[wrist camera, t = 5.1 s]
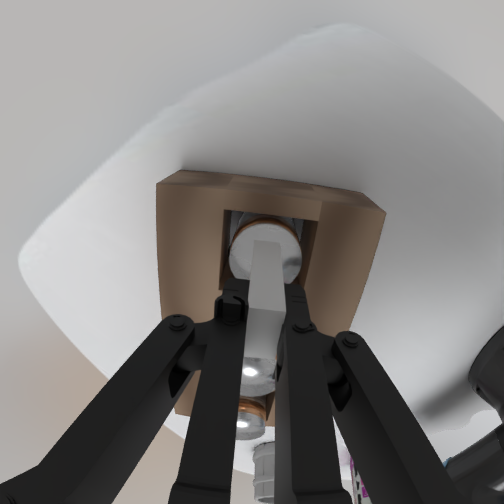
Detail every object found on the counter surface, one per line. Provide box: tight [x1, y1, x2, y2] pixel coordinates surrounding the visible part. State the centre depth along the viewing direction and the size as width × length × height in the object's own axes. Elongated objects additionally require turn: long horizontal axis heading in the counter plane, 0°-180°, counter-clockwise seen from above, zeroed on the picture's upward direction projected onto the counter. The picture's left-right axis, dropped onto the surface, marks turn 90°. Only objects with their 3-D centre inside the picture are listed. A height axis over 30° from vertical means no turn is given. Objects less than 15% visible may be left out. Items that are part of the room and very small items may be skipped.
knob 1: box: [229, 212, 302, 284], centre depth 20 cm, size 4×4×5 cm
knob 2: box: [240, 354, 277, 397], centre depth 21 cm, size 4×4×5 cm
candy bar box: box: [350, 457, 372, 504], centre depth 33 cm, size 11×5×16 cm, turn 15°
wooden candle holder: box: [156, 170, 386, 427], centre depth 23 cm, size 14×24×5 cm, turn 174°
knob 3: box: [236, 395, 266, 440], centre depth 24 cm, size 4×4×5 cm
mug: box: [253, 442, 275, 504], centre depth 33 cm, size 8×12×12 cm, turn 71°
